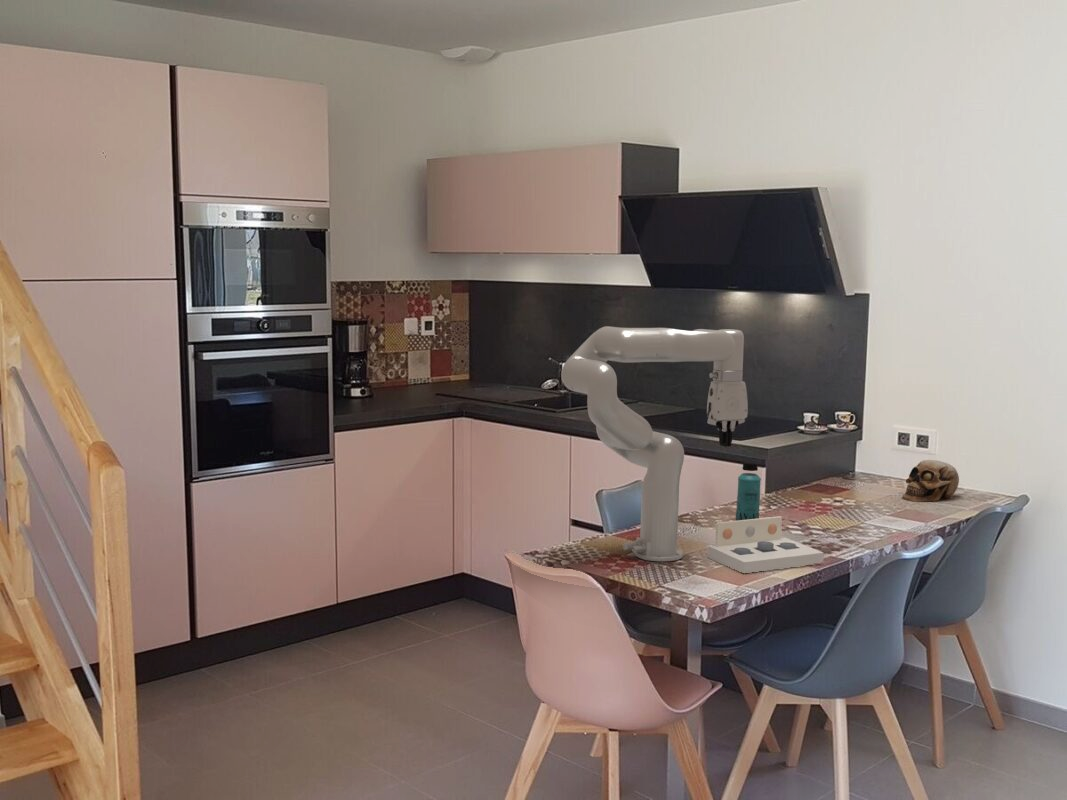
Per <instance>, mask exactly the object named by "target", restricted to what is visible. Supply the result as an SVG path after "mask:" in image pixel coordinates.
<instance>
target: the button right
mask: <svg viewBox="0 0 1067 800" xmlns="http://www.w3.org/2000/svg"><path fill="white" fill-rule="evenodd" d="M780 548H783V549H785V550H788V549H796V544H793V543H787V542H784V543H780Z"/></svg>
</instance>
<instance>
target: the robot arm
mask: <svg viewBox="0 0 1067 800" xmlns="http://www.w3.org/2000/svg"><path fill="white" fill-rule="evenodd" d="M744 336H745V335H744V333H743V331H742V330H741V329H732V328H729V329H727V328H723V329H722V328H721V329H718V330H716V329H705V328H698V329H693V330H685V329H677V328H671V327H670V328H669V327H619V326H618V327H616V326H607V325H606V326H603V327H600V328H598V329H597V330H596V331H594V332H593V333H592V334H591V335H589V337H587V339H586V340H585V341H584V342H583V343H582V344H581V345H580V346H579V347H578V348H577V349H576V350H575V351H574V352H573V354H571V355H570V356H569V358H567V360H566V361H565V362H564V364H563V365H562V369H561V373H560V377H561V378H560V379H561V381H562V384H563V385H564V386H565V387H566V388H567V389H568V390H570V391H572V392H574V393H581V394H585V395H587V399H586V400H587V401H586V402H587V403H586V404H587V414H588V417H589V419H590V421H591V422H592V423H593V425H595V430H596V434H597V437H598V439H599V440H600V441H601V442H602V443H603V445H605V446H606V447H608V448H609V449H611V450H612V451H613V452H615V453H616V454H617V455H619V456H621V457H622V458H623V459H625V460H626V461H628V462H630V463H631V464H633V465H635V466H636V465H637V466H640V467H643V468H646V469H647V470H646V473H645V475H644V477H643V481H642V484H641V492H640V494H641V499H640V500H641V503H640V505H641V506H640V531H639V533H640V535H639V536H636V540H634V541H633V542H624V543H622V548H623V550H624V551H633V555H634V556H635V558H639V559H640V560H645V561H648V562H649V561H650V562H674V561H678V560H680V559H682V558H683V557H684V551H683V550H682V549H681V548H678V530H679V528H678V527H679V503H680V501H679V500H680V498H679V497H680V496H679V495H680V482H681V481H680V480H681V474H682V469H683V465H684V460H685V450H684V446H683V445H682V442H680V440H679V439H677V438H676V437H674V436H672V435H669V434H667V433H661V432H657V431H654V430H653V429H652V426H651V424H650V423H649V421H648V420H647V419H646V418H644V417H643V416H642V415H641V414H639V413H637V412H635V411H634V410H633V409H631V408H630V407H629V406H628V405H626V404H625V403H624V402H623V401H621V399H620V398H619V397H618V391H617V390H618V388H617V387H618V379H617V374H616V372H615V370H614V368H613V367H612V366H611V365H610V364H608V363H607V362H608V361H611V362H616V363H617V362H618V363H651V362H652V363H654V362H655V363H657V362H658V363H661V362H662V363H666V362H667V363H681V362H713V369H712V372H710V373H709V378H710V379H712V381H710V385H709V390H708V394H707V395H708V396H707V404H706V417H707V424H709V425H712V426H714V427H716V428H717V430H718V431H719V432H718V434H719V435H718V442H719V445H720V446H721V447H725V448H726V447H732V442H733V432H734V431H735V429H736V428H737V426H739V425H741V424H743V423H745V422H746V419H747V418H748V415H749V414H748V413H749V412H748V411H749V410H748V407H749V405H748V391H747V390H748V389H747V384H746V382H745V381H743V374H744V373H743V372H744V371H743V368H744V367H743V365H744V364H743V363H744V345H745V344H744V341H745V337H744Z"/></svg>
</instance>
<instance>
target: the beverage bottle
mask: <svg viewBox="0 0 1067 800" xmlns="http://www.w3.org/2000/svg"><path fill="white" fill-rule="evenodd" d="M742 470H743V471H748V472H744V473H741V474H740V475H739V476H738V477H737V478H738V479H737V495H736V496H737V497H736V510H735V519H734V521H738V520H748V519H758V518H760V503H761V502H760V501H761V500H760V499H761V480H762V478H761V477H760V476H759V475H758V474H757V473H753V472H756V471H758V462H755V461H744V462H743V464H742Z"/></svg>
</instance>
